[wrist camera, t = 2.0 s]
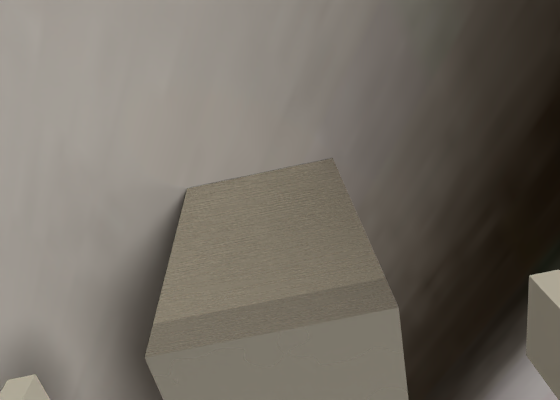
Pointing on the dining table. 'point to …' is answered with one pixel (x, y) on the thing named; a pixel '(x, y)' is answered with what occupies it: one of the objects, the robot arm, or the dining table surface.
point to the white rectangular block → (275, 296)
